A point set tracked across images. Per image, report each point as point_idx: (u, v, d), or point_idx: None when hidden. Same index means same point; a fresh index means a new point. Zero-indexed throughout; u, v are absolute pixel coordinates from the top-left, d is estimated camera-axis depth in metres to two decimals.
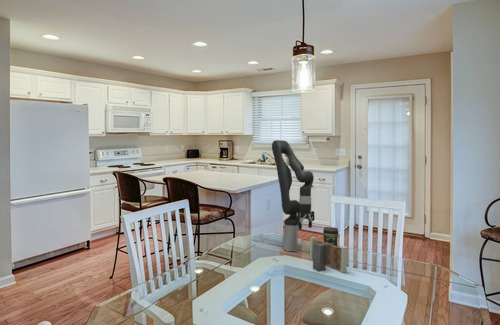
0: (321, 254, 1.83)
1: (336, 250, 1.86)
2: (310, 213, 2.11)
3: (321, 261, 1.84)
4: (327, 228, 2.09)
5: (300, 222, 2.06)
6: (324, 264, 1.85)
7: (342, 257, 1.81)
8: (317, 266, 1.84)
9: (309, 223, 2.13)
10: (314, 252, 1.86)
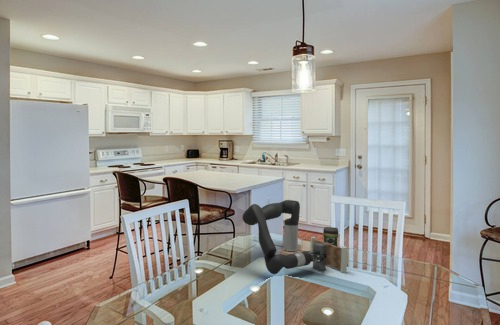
0: (321, 254, 1.83)
1: (336, 250, 1.86)
2: None
3: None
4: (327, 228, 2.09)
5: (321, 255, 1.82)
6: (324, 264, 1.85)
7: (342, 257, 1.81)
8: (317, 266, 1.84)
9: None
10: (314, 252, 1.86)
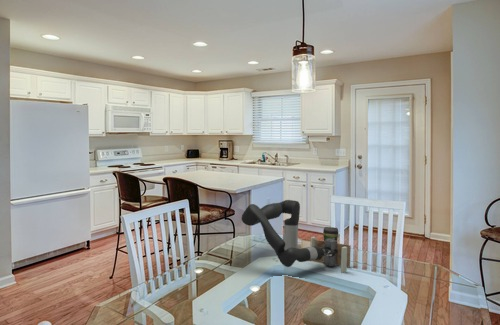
0: None
1: None
2: None
3: (332, 257, 1.89)
4: (327, 228, 2.09)
5: (333, 250, 1.87)
6: (335, 259, 1.90)
7: (342, 257, 1.81)
8: (328, 261, 1.89)
9: None
10: (325, 248, 1.91)
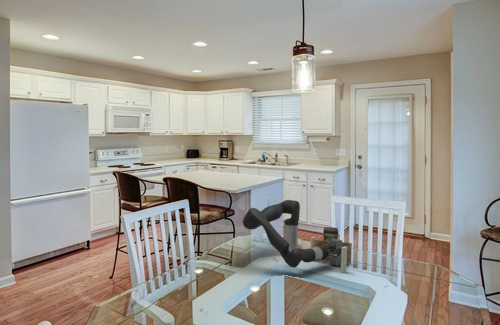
0: (337, 249, 1.90)
1: (344, 246, 1.95)
2: None
3: None
4: (327, 228, 2.09)
5: (338, 250, 1.89)
6: (340, 259, 1.92)
7: (342, 257, 1.81)
8: (333, 261, 1.91)
9: None
10: (330, 247, 1.93)
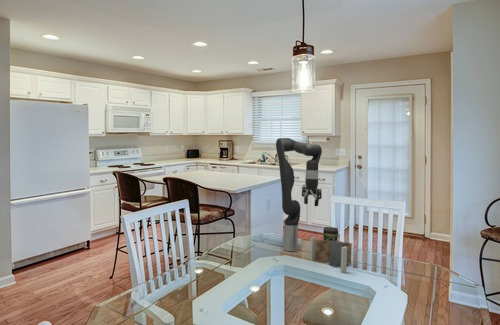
0: (337, 251, 1.90)
1: (344, 246, 1.95)
2: None
3: (337, 258, 1.91)
4: (327, 228, 2.09)
5: (319, 198, 1.94)
6: (340, 260, 1.92)
7: (342, 257, 1.81)
8: (334, 262, 1.91)
9: (306, 199, 2.01)
10: (331, 249, 1.93)
